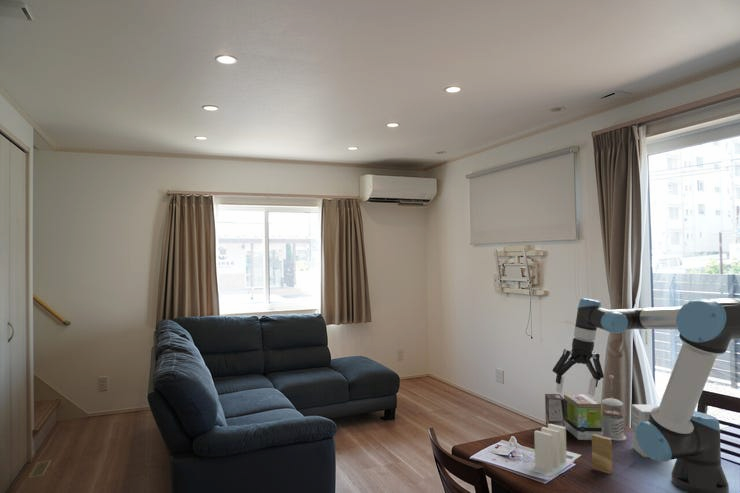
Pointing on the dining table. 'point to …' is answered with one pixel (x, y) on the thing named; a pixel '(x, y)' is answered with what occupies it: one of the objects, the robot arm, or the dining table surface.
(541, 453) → the ivory tile
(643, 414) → the supplement box
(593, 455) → the ochre tile
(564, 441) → the ivory tile
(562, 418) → the coffee box
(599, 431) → the tea box
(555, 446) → the ivory tile
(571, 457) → the mat
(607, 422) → the french press
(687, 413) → the robot arm
